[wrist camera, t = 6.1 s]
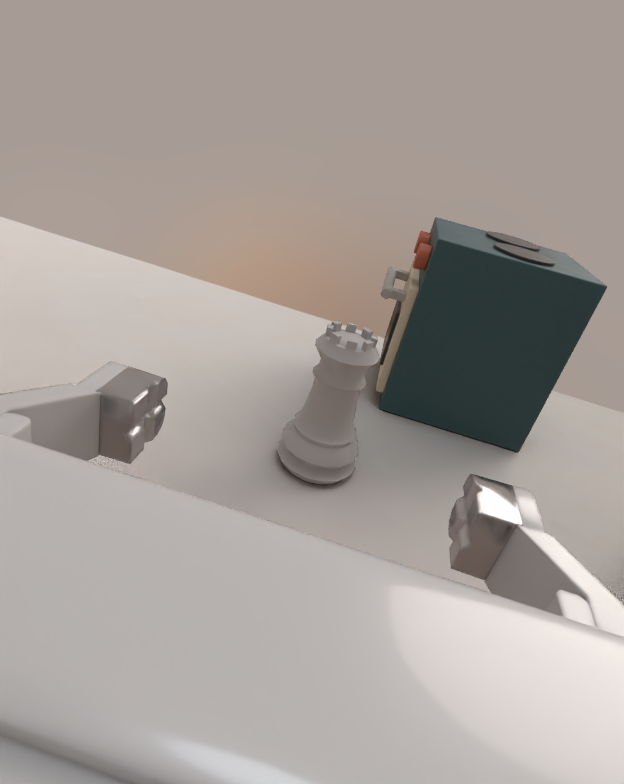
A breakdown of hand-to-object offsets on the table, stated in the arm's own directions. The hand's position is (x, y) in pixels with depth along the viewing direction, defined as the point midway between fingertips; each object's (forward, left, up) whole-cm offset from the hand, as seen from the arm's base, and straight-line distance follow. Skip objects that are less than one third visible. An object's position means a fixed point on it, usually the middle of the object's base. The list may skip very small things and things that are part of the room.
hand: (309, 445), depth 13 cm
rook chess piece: (0, +12, -9) cm, 15 cm away
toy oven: (+7, +25, -9) cm, 28 cm away
